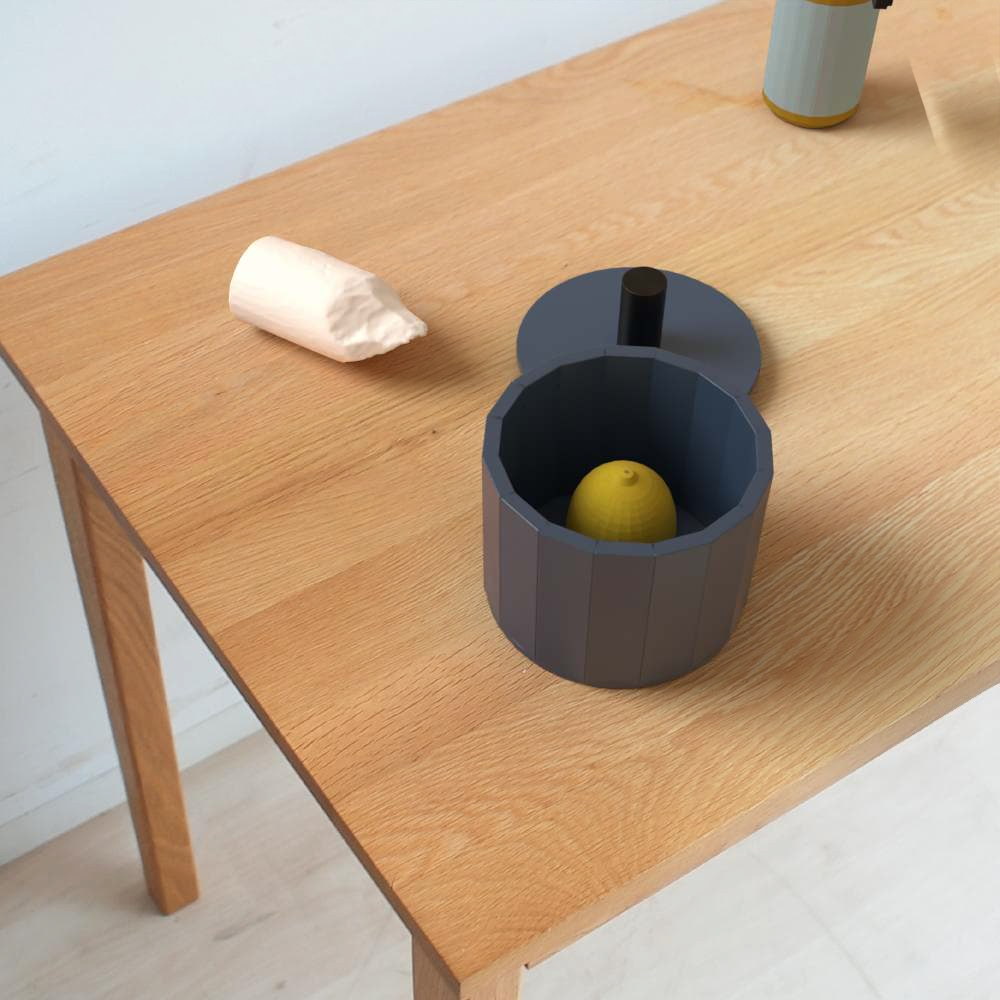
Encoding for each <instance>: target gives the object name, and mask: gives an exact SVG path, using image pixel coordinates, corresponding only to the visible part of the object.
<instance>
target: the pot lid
mask: <svg viewBox="0 0 1000 1000" xmlns="http://www.w3.org/2000/svg"><path fill="white" fill-rule="evenodd" d="M516 335H517V336H516V341H515V342H516V343H515V344H516V346H515V347H516V348H515V349H516V351H515V353H516V354H515V356H516V362H517V367H518V370H519V373H520V376H521V375H523V374H524V373H526V372H528V371H529V370H531V369H533V368H534V367H536V366H538V365H539V364H541V363H543V362H544V361H546V360H548V359H549V358H551V357H554V356H556V355H561V354H565V353H570V352H574V351H578V350H583V349H587V348H592V347H596V346H601V345H621V346H640V347H657V348H659V349H662V350H665V351H668V352H671V353H674V354H677V355H680V356H683V357H686V358H689V359H692V360H695V361H698V362H701V363H704V364H706V365H709V366H710V367H712V368H713V369H714V370H716V371H717V372H719V373H720V374H721V375H723V376H724V377H726V378H727V379H728V380H730V381H731V382H732V383H734V384H735V385H737V386H738V387H739V388H741V389H742V390H743V391H745V392H746V393H747V394H748V395H749V396H750V395H751V394H752V392H753V391H754V389H755V386H756V384H757V383H758V379H759V375H760V371H761V366H762V348H761V342H760V338H759V336H758V333H757V331H756V328H755V327H754V325H753V323H752V321H751V319H750V318H749V317H748V316H747V314H746V313H745V312H744V310H743V309H742V308H741V307H740V306H738V304H736V302H735V301H734V300H733V299H731V298H730V297H728V295H726V294H724V293H723V292H721V291H720V290H718V289H717V288H715V287H713V286H712V285H709V284H707V283H706V282H703V281H701V280H699V279H696V278H694V277H690V276H689V275H685V274H682V273H680V272H679V273H678V272H675V271H671V270H665V269H659V268H656V267H651V266H646V265H645V266H644V265H643V266H621V267H609V268H603V269H597V270H593V271H589V272H584V273H581V274H579V275H576V276H573V277H571V278H569V279H566V280H564V281H561V282H560V283H558V284H557V285H555V286H553V287H551V288H550V289H548V290H547V291H546V292H544V293H543V294H542V295H541V296H540V297H538V298H537V299H536V300H535V301H534V302H533V304H532V305H531V306H530V307H529V309H528V310H527V312H525V314H524V316H523V318H522V320H521V323H520V325H519V328H518V330H517V334H516Z"/></svg>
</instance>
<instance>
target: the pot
mask: <svg viewBox="0 0 1000 1000" xmlns="http://www.w3.org/2000/svg"><path fill="white" fill-rule="evenodd" d="M623 460H625V461H633V462H637V463H640V464H643V465H645V466H646V467H648V468H650V469H652V470H653V471H655V472H656V473H657V474H658V475H659V476H660V477H661V478H662V479H663V480H664V482H665V483H666V485H667V487H668V488H669V490H670V492H671V495H672V498H673V502H674V505H675V510H676V519H677V521H676V537H675V538H672V539H668V540H665V541H661V542H657V543H653V544H650V543H633V542H616V541H599V540H595V539H593V538H590V537H588V536H585V535H582V534H580V533H577V532H574V531H572V530H569V529H567V528H566V518H567V513H568V509H569V506H570V502H571V499H572V496H573V494H574V492H575V490H576V488H577V487H578V485H579V484H580V482H581V481H582V479H583V478H584V477H585V476H586V475H587V474H589V473H590V472H591V471H592V470H593V469H595V468H597V467H599V466H601V465H603V464H605V463H609V462H613V461H623ZM774 475H775V468H774V451H773V437H772V431H771V429H770V427H769V425H768V424H767V422H766V420H765V419H764V418H763V416H762V415H761V413H760V411H759V409H758V408H757V406H756V404H755V403H754V401H753V400H752V398H751V397H750V395H748V394H747V393H746V392H745V391H743V390H742V389H741V388H739V387H738V386H737V385H735V384H734V383H732V382H731V381H730V380H728V379H727V378H726V377H724V376H723V375H721V374H720V373H719V372H717V371H716V370H714V369H713V368H712V367H710V366H709V365H706V364H704V363H701V362H698V361H695V360H692V359H689V358H686V357H683V356H680V355H677V354H674V353H671V352H668V351H665V350H662V349H659V348H657V347H640V346H621V345H601V346H596V347H592V348H587V349H583V350H578V351H574V352H570V353H565V354H561V355H556V356H554V357H551V358H549V359H548V360H546V361H544V362H543V363H541V364H539V365H538V366H536V367H534V368H533V369H531V370H529V371H528V372H526V373H524V374H523V375H521V374H520V375H519V376H518V377H516V378H514V379H513V380H511V381H510V382H509V384H508V385H507V387H506V388H505V389H504V391H503V392H502V393H501V395H500V396H499V398H498V399H497V400H496V402H495V403H494V404H493V406H492V407H491V409H490V410H489V412H488V413H487V415H486V416H485V425H484V434H483V442H482V452H481V497H482V498H481V500H482V505H481V506H482V554H483V556H482V560H483V561H482V568H483V588H484V591H485V594H486V599H487V603H488V605H489V609H490V612H491V614H492V617H493V618H494V620H495V623H496V624H497V626H498V628H499V629H500V631H501V632H502V634H503V635H504V636H505V638H506V639H507V640H508V641H509V642H510V643H511V645H512V646H513V647H515V649H516V650H517V651H518V652H520V653H521V654H522V655H523V656H524V657H525V658H526V659H528V660H529V661H531V662H532V663H534V664H535V665H537V666H539V668H542V669H543V670H545V671H547V672H549V673H551V674H553V675H555V676H558V677H559V678H563V679H565V680H568V681H571V682H574V683H577V684H582V685H586V686H591V687H594V686H595V688H596V687H597V688H604V689H612V690H613V689H619V690H620V689H621V690H623V689H624V690H627V689H628V690H630V689H640V688H649V687H653V686H658V685H661V684H665V683H670V682H671V681H674V680H677V679H680V678H682V677H684V676H686V675H688V674H691V673H693V672H694V671H696V670H698V669H700V668H701V667H702V666H704V665H706V663H708V662H710V660H711V659H712V658H715V656H716V655H717V654H719V653H720V651H721V650H722V649H723V648H724V647H725V645H726V644H727V643H728V642H729V641H730V639H731V638H732V636H733V634H734V632H735V631H736V629H737V627H738V625H739V622H740V619H741V617H742V615H743V612H744V610H745V607H746V606H747V602H748V598H749V592H750V588H751V583H752V579H753V575H754V569H755V565H756V560H757V555H758V551H759V546H760V542H761V536H762V531H763V528H764V527H763V526H764V522H765V517H766V512H767V508H768V503H769V499H770V493H771V490H772V483H773V479H774Z"/></svg>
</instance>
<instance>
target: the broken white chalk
mask: <svg viewBox="0 0 1000 1000" xmlns="http://www.w3.org/2000/svg"><path fill="white" fill-rule="evenodd" d="M228 305H229V309H230V313H231V315H232V316H233V318H234V319H236V320H237V321H239V322H242V323H245V324H247V325H250V326H251V327H255V328H257V329H260V330H263V331H265V332H267V333H269V334H272V335H275V336H277V337H279V338H282V339H283V340H286V341H289V342H291V343H292V344H293V343H294V344H296V345H298V346H301V347H303V348H305V349H308V350H310V351H312V352H314V353H317V354H319V355H322V356H324V357H326V358H329V359H332V360H334V361H337V362H340V363H346V362H347V363H349V362H351V363H352V362H353V363H354V362H358V361H364V360H366V359H368V358H369V359H370V358H373V357H375V356H376V355H385V354H386V353H387V352H391V351H393V350H395V349H396V348H399V347H400V345H405V344H408V343H410V340H414V339H416V338H417V337H425V336H427V335H428V331H429V329H428V325H427V323H426V322H424V321H423V320H422V319H421V318H420V317H419V316H417V315H415V314H414V313H413V312H411V311H410V310H409V309H408V308H407V306H406V305H405V303H403V301H402V299H401V297H400V294H399V293H398V292H397V290H396V289H395V288H394V287H393V286H392V284H391V283H389V282H388V281H386V279H384V278H383V277H381V276H379V275H377V274H375V273H373V272H371V271H368V270H365V269H363V268H361V267H358V266H356V265H354V264H350V263H348V262H345V261H343V260H341V259H338V258H337V257H334V256H332V255H330V254H328V253H327V252H324V251H322V250H319V249H316V248H311V247H309V246H305V245H300V244H297V243H295V242H293V241H290V240H287V239H284V238H282V237H279V236H275V235H267V236H263V237H260V238H259V239H256V240H255V241H253V242H252V243H251V244H250V245H249V246H248V248H247V249H246V250H244V253H243V254H242V256H241V257H240V259H239V261H238V263H237V265H236V267H235V270H234V272H233V274H232V278H231V279H230V284H229V293H228Z"/></svg>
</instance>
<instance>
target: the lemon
mask: <svg viewBox="0 0 1000 1000" xmlns="http://www.w3.org/2000/svg"><path fill="white" fill-rule="evenodd" d="M676 521H677V519H676V510H675V505H674V502H673V498H672V495H671V492H670V490H669V488H668V487H667V485H666V483H665V482H664V480H663V479H662V478H661V477H660V476H659V475H658V474H657V473H656V472H655V471H653V470H652V469H650V468H648V467H646V466H645V465H643V464H640V463H637V462H633V461H625V460H623V461H613V462H609V463H605V464H603V465H601V466H599V467H597V468H595V469H593V470H592V471H591V472H590V473H589V474H587V475H586V476H585V477H584V478H583V479H582V481H581V482H580V484H579V485H578V487H577V488H576V490H575V492H574V494H573V496H572V499H571V502H570V506H569V509H568V513H567V518H566V528H567V529H569V530H572V531H574V532H577V533H580V534H582V535H585V536H588V537H590V538H593V539H595V540H599V541H616V542H633V543H650V544H653V543H657V542H661V541H665V540H668V539H672V538H675V537H676Z"/></svg>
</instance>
